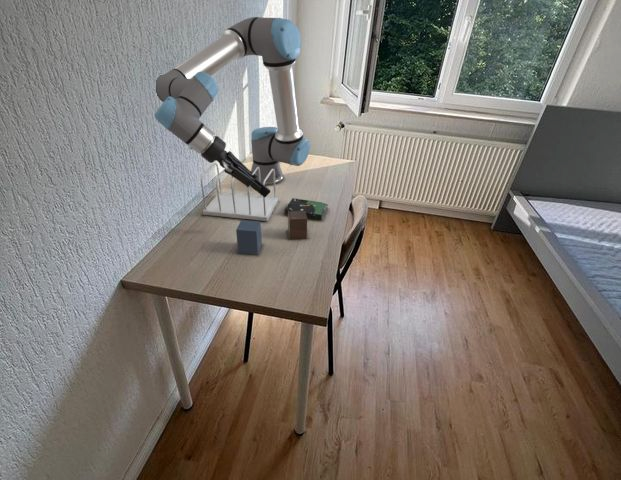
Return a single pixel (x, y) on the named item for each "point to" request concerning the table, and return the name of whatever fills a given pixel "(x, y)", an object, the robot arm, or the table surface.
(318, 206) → the disk drive
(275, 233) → the table surface
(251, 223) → the slate-blue block
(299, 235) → the walnut block
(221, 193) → the file sorter
